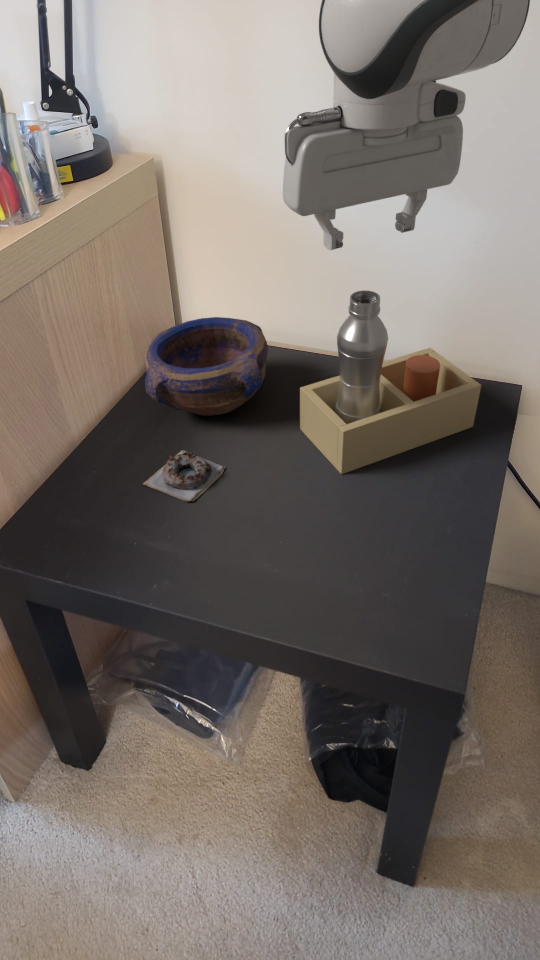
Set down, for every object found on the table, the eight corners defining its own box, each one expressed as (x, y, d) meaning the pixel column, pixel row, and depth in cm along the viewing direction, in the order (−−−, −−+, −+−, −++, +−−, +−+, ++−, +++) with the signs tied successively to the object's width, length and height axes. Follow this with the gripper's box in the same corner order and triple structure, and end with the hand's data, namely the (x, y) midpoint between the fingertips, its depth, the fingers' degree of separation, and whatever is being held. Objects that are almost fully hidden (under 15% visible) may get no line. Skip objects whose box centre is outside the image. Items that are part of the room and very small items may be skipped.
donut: (190, 505, 86) (188, 493, 85) (143, 484, 89) (140, 472, 88) (228, 468, 91) (227, 456, 90) (182, 450, 94) (180, 438, 93)
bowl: (160, 367, 111) (152, 310, 104) (271, 366, 110) (269, 309, 104) (141, 434, 97) (129, 374, 91) (267, 434, 97) (264, 373, 90)
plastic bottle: (384, 421, 96) (397, 288, 83) (374, 450, 91) (386, 313, 78) (339, 414, 98) (345, 281, 84) (327, 442, 93) (331, 306, 80)
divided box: (473, 426, 96) (481, 384, 92) (341, 474, 89) (343, 431, 85) (424, 387, 104) (430, 347, 100) (299, 428, 97) (299, 387, 93)
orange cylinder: (439, 415, 97) (447, 366, 92) (412, 425, 96) (419, 376, 90) (420, 399, 100) (426, 351, 95) (394, 408, 99) (399, 360, 93)
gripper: (300, 123, 62) (301, 268, 71) (479, 92, 69) (459, 229, 78) (269, 109, 66) (274, 248, 75) (440, 81, 73) (426, 213, 82)
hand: (369, 238), depth 77 cm, fingers open, 8 cm apart
